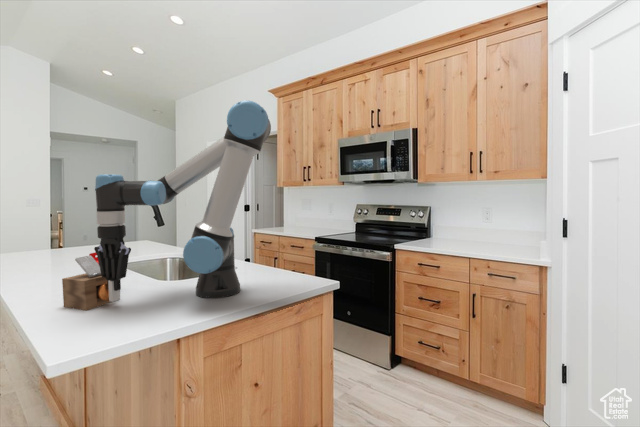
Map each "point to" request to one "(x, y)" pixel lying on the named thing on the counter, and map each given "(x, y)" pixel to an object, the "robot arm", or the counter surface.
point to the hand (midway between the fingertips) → (114, 300)
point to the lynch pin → (103, 292)
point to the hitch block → (82, 292)
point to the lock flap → (89, 266)
